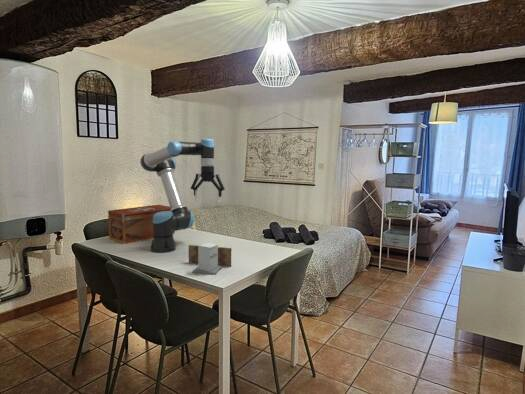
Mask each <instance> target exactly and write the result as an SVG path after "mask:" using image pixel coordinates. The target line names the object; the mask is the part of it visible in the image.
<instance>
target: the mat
mask: <svg viewBox="0 0 525 394" xmlns="http://www.w3.org/2000/svg"><path fill="white" fill-rule="evenodd" d="M222 267H223V266H218V268H216V269H214V270H211V271H210V272H208V271H204V270H200V269H198V266H196V267H195V268H194V269H193V270H192V274H203V275H211V276H212V275H213V276H216V275H217V274H218V272H220V271H221V270H222Z"/></svg>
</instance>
